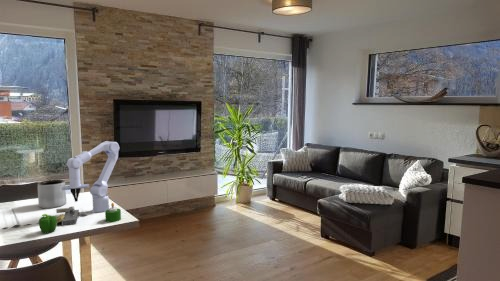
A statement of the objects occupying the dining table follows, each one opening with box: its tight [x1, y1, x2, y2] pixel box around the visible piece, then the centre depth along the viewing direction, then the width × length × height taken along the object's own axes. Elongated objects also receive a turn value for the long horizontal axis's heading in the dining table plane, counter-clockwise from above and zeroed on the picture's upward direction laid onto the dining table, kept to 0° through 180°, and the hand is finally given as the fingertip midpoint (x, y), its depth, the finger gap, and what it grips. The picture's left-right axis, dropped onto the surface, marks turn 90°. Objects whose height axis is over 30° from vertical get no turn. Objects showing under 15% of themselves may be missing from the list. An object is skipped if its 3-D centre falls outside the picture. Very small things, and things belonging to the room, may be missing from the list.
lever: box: [55, 206, 75, 214], centre depth 216 cm, size 3×9×2 cm, turn 110°
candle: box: [104, 202, 122, 223], centre depth 209 cm, size 8×8×10 cm
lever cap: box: [56, 213, 65, 224], centre depth 204 cm, size 6×7×2 cm
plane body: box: [61, 209, 80, 226], centre depth 211 cm, size 20×7×2 cm, turn 21°
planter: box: [37, 179, 67, 209], centre depth 239 cm, size 16×16×16 cm
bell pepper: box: [38, 213, 58, 234], centre depth 191 cm, size 8×8×10 cm
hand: (76, 201), depth 215 cm, fingers closed
